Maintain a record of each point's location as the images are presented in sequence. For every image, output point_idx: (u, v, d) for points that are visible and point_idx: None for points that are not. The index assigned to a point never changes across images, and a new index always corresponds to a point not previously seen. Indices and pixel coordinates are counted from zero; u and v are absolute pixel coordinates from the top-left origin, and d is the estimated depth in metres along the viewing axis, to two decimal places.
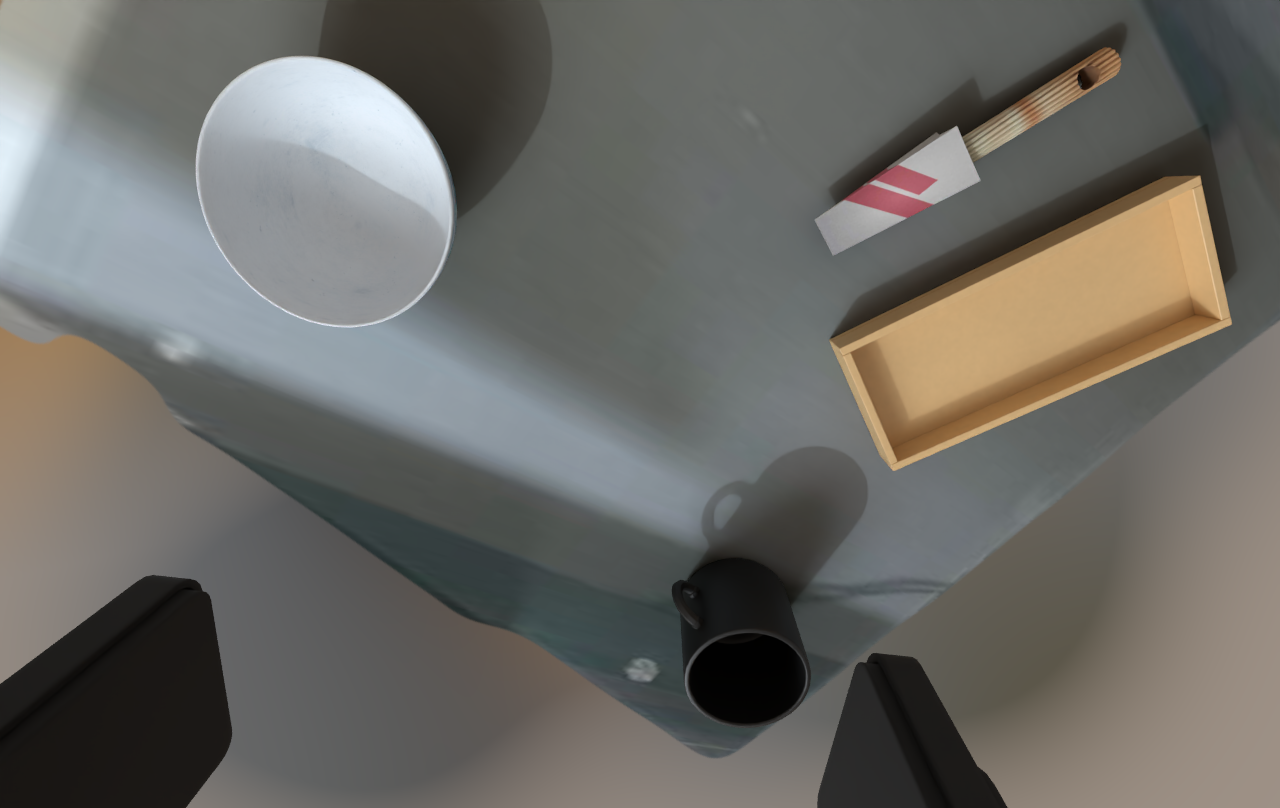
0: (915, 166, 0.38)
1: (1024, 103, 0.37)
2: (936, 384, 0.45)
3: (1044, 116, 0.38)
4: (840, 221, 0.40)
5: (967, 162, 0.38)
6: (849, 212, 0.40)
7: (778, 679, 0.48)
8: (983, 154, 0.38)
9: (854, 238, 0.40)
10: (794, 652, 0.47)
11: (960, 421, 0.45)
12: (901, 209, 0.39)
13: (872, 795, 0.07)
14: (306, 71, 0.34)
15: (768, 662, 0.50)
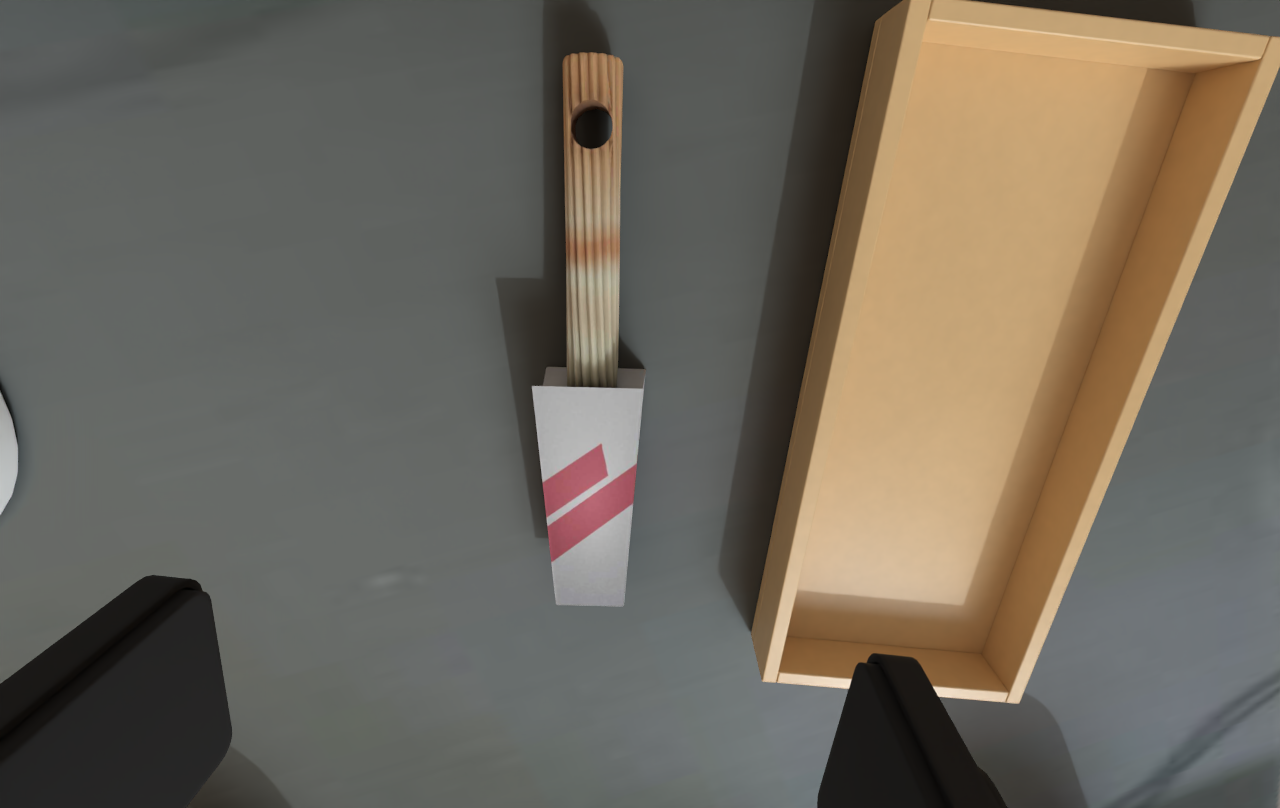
0: (560, 463, 0.22)
1: (570, 250, 0.20)
2: (937, 547, 0.25)
3: (612, 223, 0.20)
4: (579, 579, 0.24)
5: (600, 394, 0.20)
6: (573, 564, 0.24)
7: None
8: (611, 347, 0.21)
9: (616, 574, 0.24)
10: None
11: (1028, 551, 0.24)
12: (614, 504, 0.22)
13: (872, 795, 0.07)
14: None
15: None
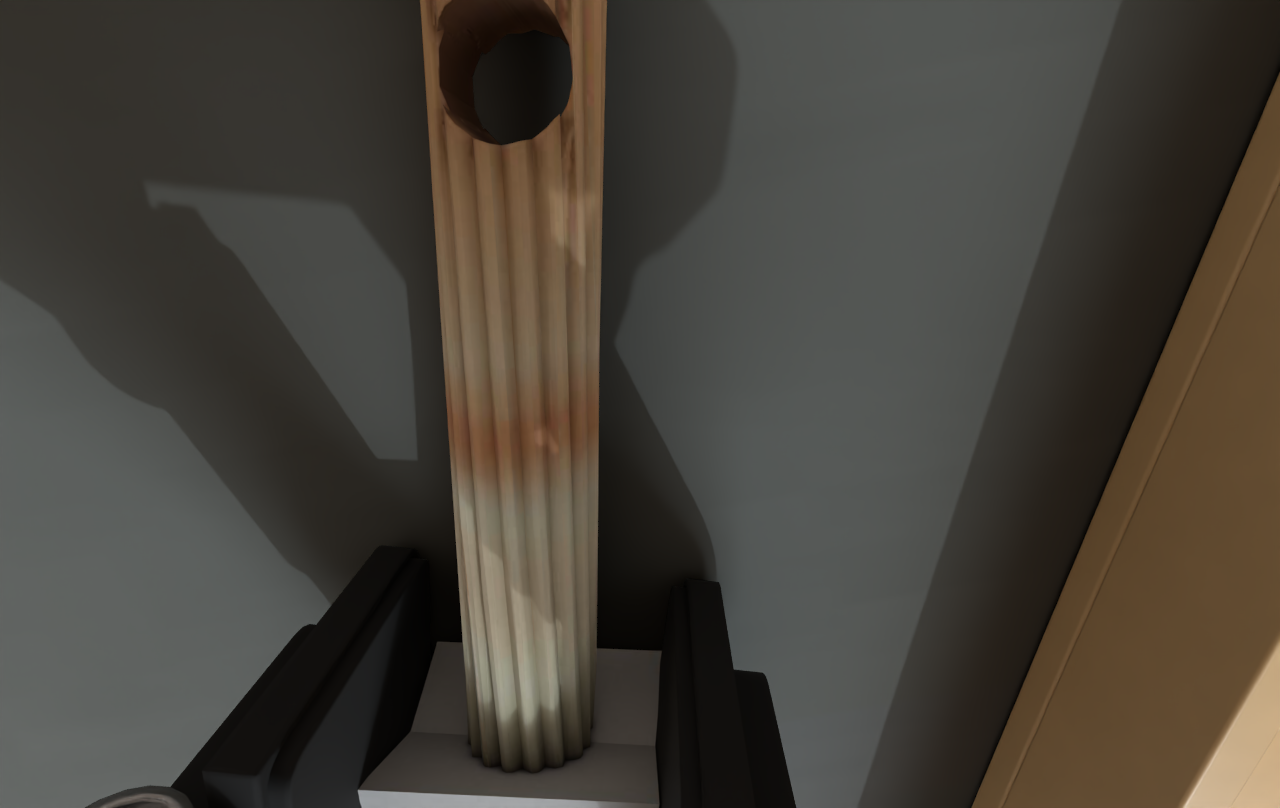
0: None
1: (454, 436, 0.07)
2: None
3: (576, 362, 0.07)
4: None
5: None
6: None
7: None
8: (575, 669, 0.08)
9: None
10: None
11: None
12: None
13: (665, 695, 0.08)
14: None
15: None
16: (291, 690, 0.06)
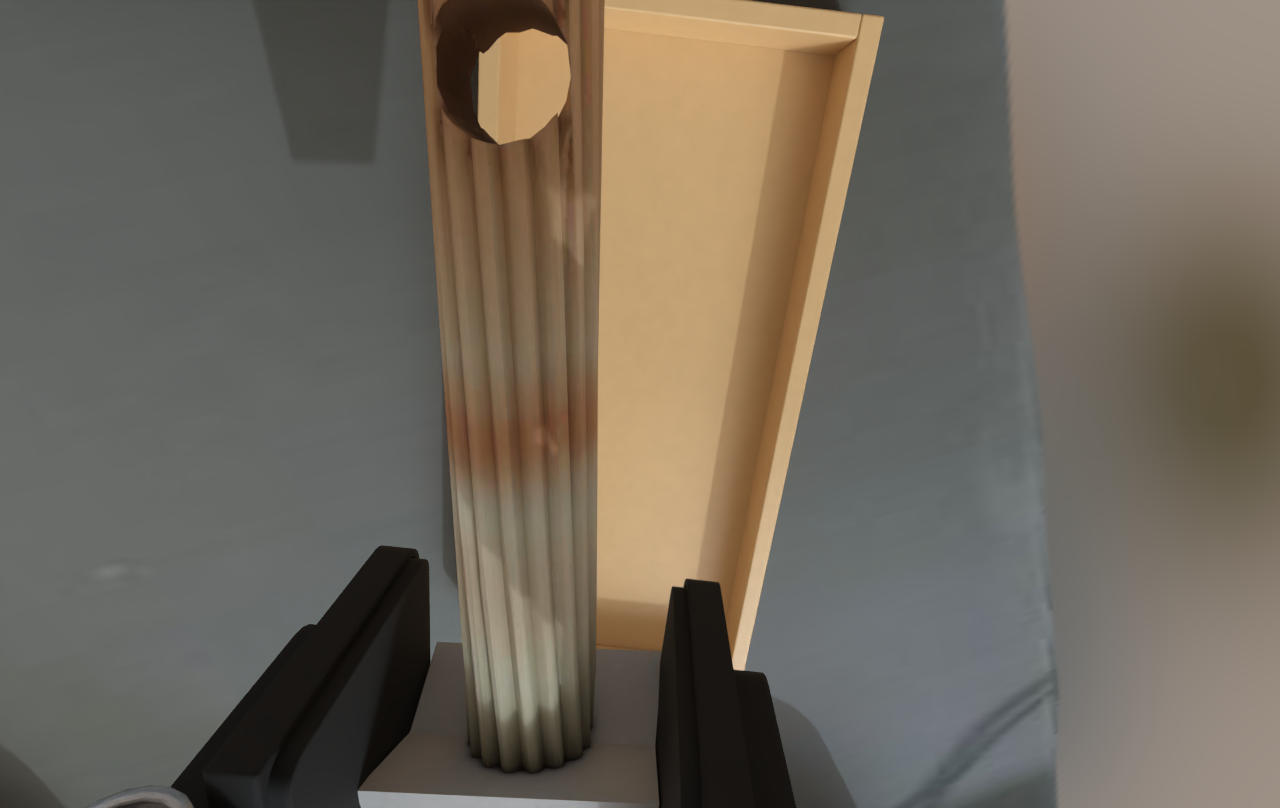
0: None
1: (453, 436, 0.07)
2: (654, 546, 0.24)
3: (575, 362, 0.07)
4: None
5: None
6: None
7: None
8: (575, 669, 0.08)
9: None
10: None
11: (741, 553, 0.23)
12: None
13: (665, 695, 0.08)
14: None
15: None
16: (291, 690, 0.06)
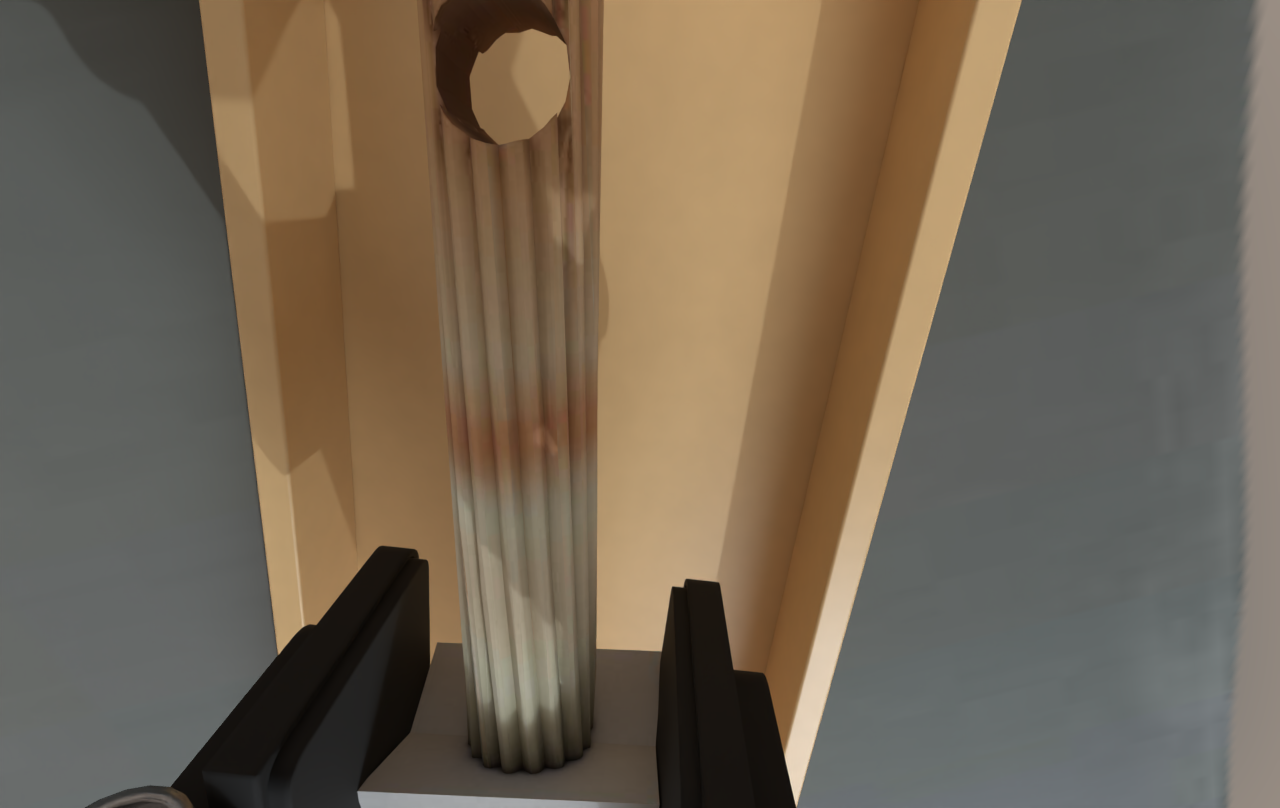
0: None
1: (452, 436, 0.07)
2: None
3: (575, 362, 0.07)
4: None
5: None
6: None
7: None
8: (575, 669, 0.08)
9: None
10: None
11: None
12: None
13: (665, 694, 0.08)
14: None
15: None
16: (291, 690, 0.06)
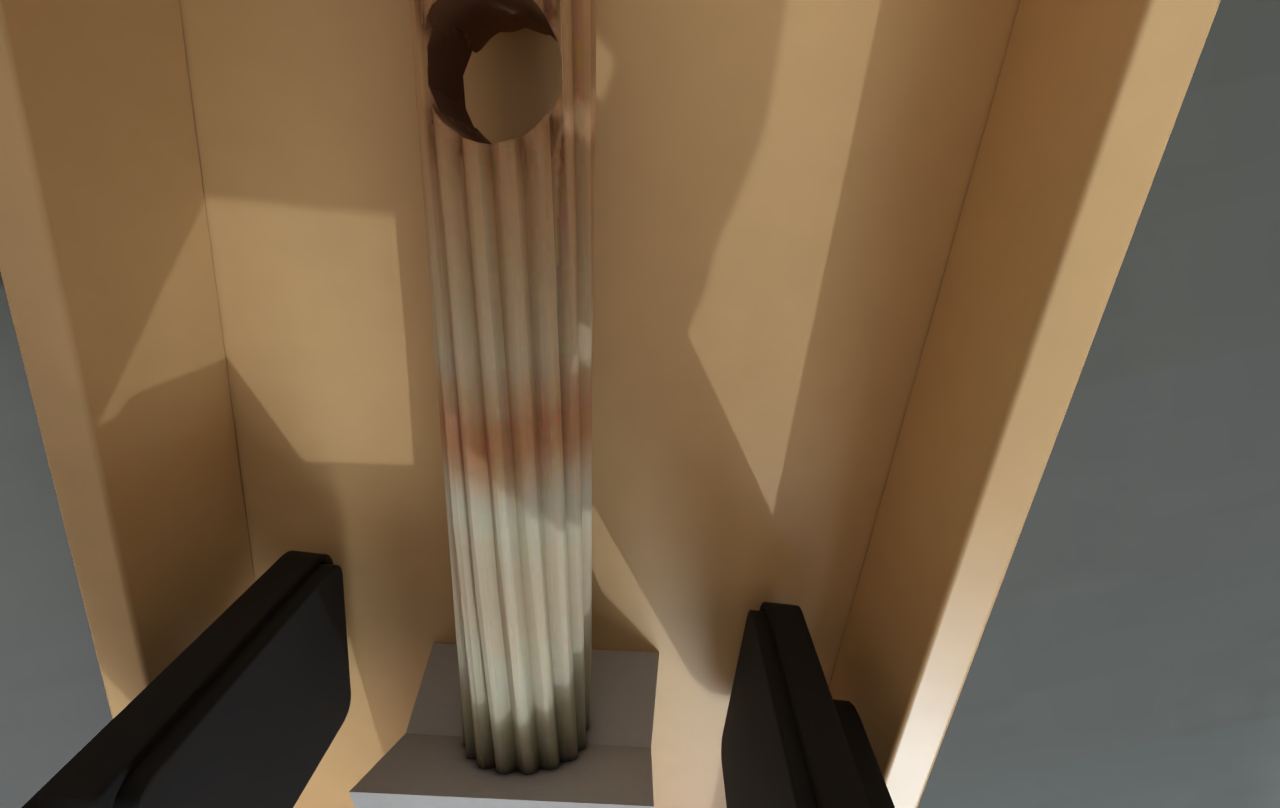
0: None
1: (446, 437, 0.07)
2: None
3: (568, 362, 0.07)
4: None
5: None
6: None
7: None
8: (570, 670, 0.08)
9: None
10: None
11: None
12: None
13: (750, 725, 0.08)
14: None
15: None
16: (155, 705, 0.06)
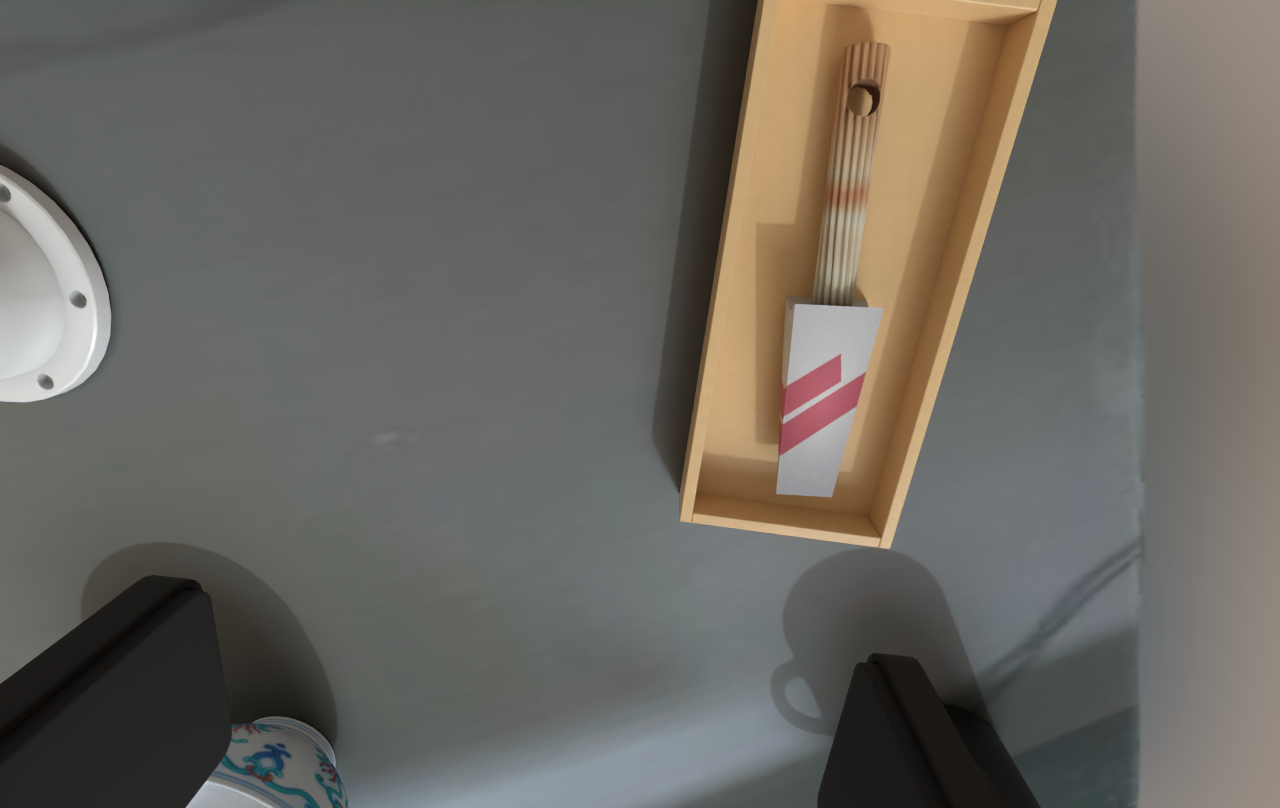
0: (804, 370, 0.27)
1: (833, 197, 0.25)
2: None
3: (869, 175, 0.25)
4: (800, 471, 0.29)
5: (848, 312, 0.26)
6: (798, 458, 0.29)
7: None
8: (854, 276, 0.26)
9: (831, 468, 0.29)
10: None
11: (899, 422, 0.30)
12: (841, 406, 0.28)
13: (872, 795, 0.07)
14: None
15: None
16: None
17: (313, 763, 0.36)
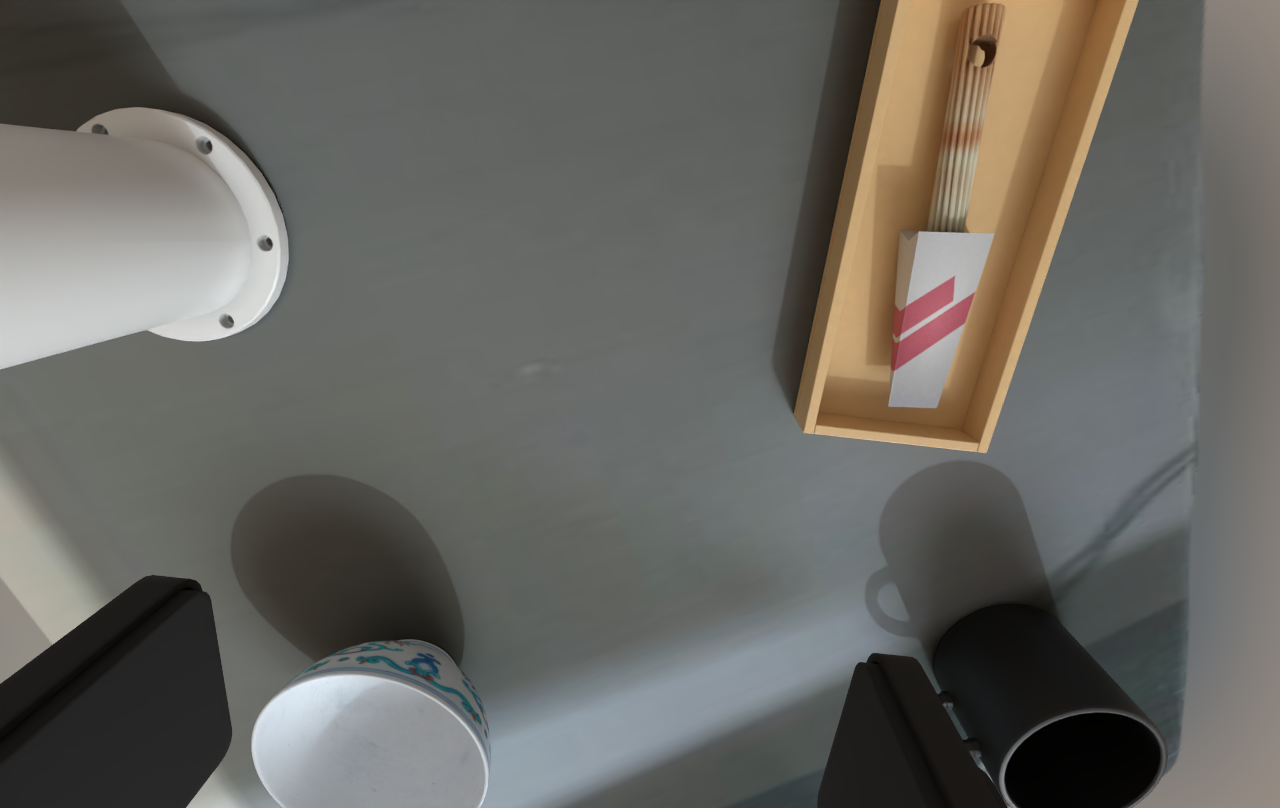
0: (922, 291, 0.31)
1: (952, 138, 0.30)
2: None
3: (983, 119, 0.29)
4: (910, 385, 0.34)
5: (964, 238, 0.30)
6: (910, 372, 0.33)
7: (1120, 714, 0.37)
8: (967, 208, 0.31)
9: (938, 381, 0.34)
10: None
11: (994, 341, 0.34)
12: (951, 324, 0.32)
13: (872, 795, 0.07)
14: (277, 704, 0.38)
15: None
16: None
17: (457, 672, 0.40)
